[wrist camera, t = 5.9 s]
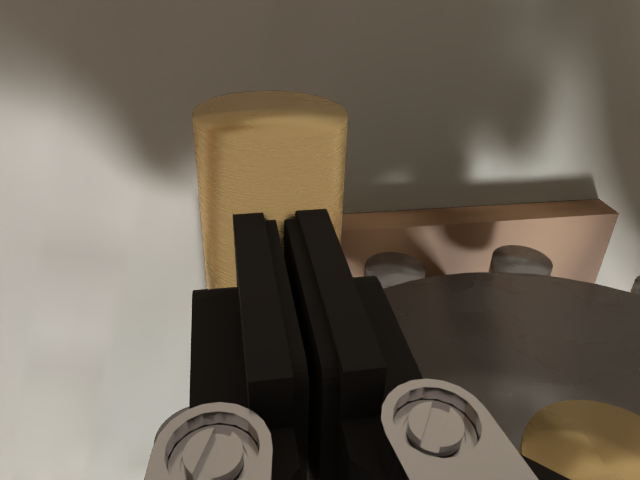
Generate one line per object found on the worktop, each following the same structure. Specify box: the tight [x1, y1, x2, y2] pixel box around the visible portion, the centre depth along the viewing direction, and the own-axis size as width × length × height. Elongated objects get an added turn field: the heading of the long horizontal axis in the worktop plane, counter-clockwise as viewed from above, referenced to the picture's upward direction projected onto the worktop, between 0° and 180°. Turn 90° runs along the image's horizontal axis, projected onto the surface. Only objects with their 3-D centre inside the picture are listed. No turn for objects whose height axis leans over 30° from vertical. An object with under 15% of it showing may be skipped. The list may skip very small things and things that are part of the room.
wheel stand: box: [340, 199, 619, 284], centre depth 22 cm, size 25×8×15 cm, turn 88°
